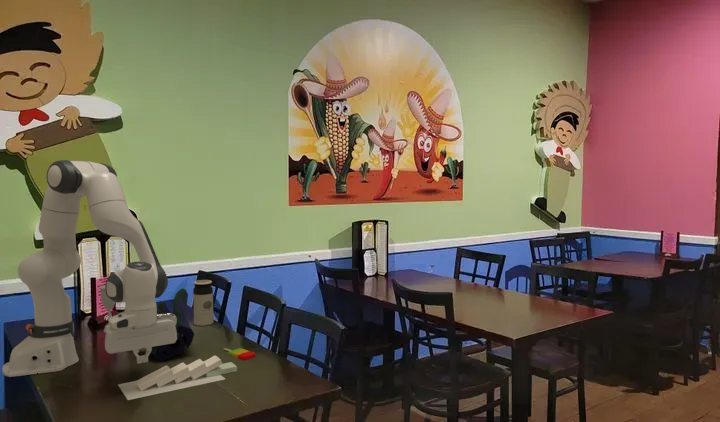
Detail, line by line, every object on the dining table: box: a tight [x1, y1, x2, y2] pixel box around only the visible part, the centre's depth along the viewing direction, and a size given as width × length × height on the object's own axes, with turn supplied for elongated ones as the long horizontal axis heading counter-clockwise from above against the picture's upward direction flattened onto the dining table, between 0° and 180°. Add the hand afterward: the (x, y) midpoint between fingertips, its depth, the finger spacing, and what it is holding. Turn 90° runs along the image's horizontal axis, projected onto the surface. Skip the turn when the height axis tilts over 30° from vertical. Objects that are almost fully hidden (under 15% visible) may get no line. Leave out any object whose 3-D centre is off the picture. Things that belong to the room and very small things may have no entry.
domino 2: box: [156, 362, 189, 388], centre depth 179 cm, size 2×5×10 cm
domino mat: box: [117, 375, 226, 401], centre depth 179 cm, size 29×14×1 cm, turn 124°
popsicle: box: [223, 347, 256, 361], centre depth 206 cm, size 6×15×2 cm, turn 50°
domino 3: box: [173, 358, 206, 384], centre depth 181 cm, size 2×5×10 cm
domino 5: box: [203, 361, 238, 377], centre depth 187 cm, size 2×5×10 cm
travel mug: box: [192, 279, 214, 327], centre depth 245 cm, size 8×8×18 cm
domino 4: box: [190, 355, 223, 380], centre depth 184 cm, size 2×5×10 cm
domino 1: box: [134, 365, 173, 391], centre depth 176 cm, size 2×5×10 cm
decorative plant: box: [150, 288, 195, 362], centre depth 210 cm, size 21×26×30 cm
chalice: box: [99, 285, 117, 333], centre depth 234 cm, size 7×7×18 cm
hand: (142, 362), depth 174 cm, fingers closed
